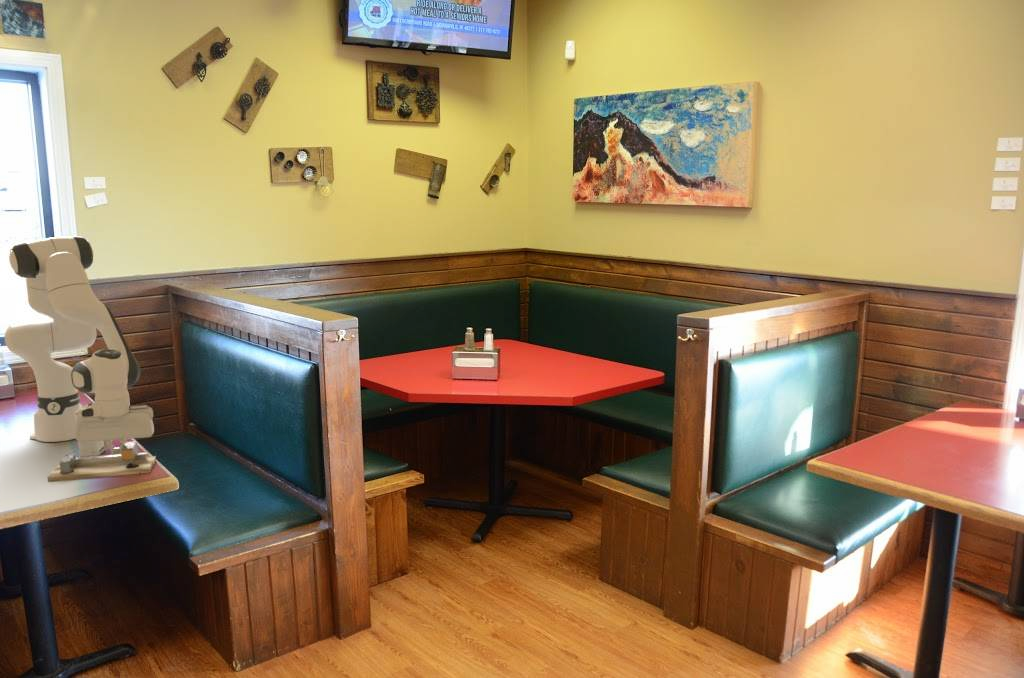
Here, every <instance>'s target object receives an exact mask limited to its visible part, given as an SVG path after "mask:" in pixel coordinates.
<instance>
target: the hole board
mask: <svg viewBox="0 0 1024 678" xmlns="http://www.w3.org/2000/svg"><path fill="white" fill-rule="evenodd" d="M155 460H156V461H157V456H156V455H152V456H147V460H146V461H137V462H132V466H127V462H125V463H112V464H100V465H87V466H76V467H75V468H74V469H73V470H72V471H71V473H65V474H61V472H60V463H58V465H57V466H56V467H55V468H54V469H53V471H51V473H50V474H48V475H47V482H55V481H66V480H67V481H68V480H79V479H90V478H93V479H94V478H103V477H104V478H105V477H115V476H125V475H126V476H129V475H138V474H139V473H141V474H150V473H149V472H151V471H152V469H153V467H154V465H155V463H156V461H155ZM153 464H154V465H153ZM152 466H153V467H152ZM151 468H152V469H151ZM150 470H151V471H150ZM139 475H140V474H139Z"/></svg>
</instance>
